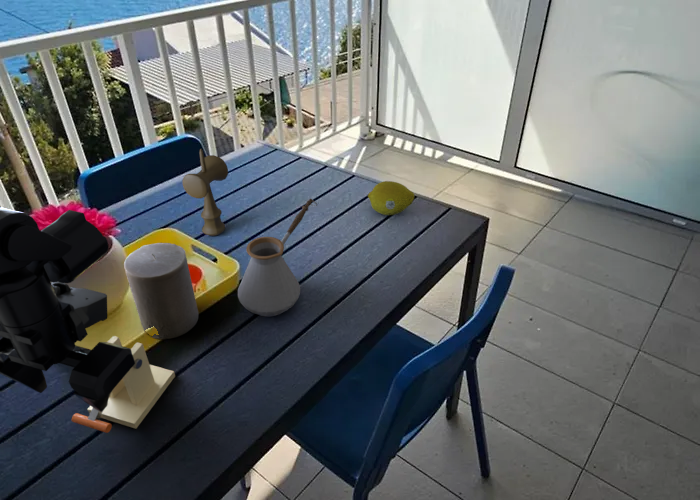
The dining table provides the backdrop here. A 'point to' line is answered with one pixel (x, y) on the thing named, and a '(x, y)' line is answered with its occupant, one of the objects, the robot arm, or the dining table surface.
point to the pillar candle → (162, 289)
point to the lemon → (390, 198)
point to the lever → (92, 420)
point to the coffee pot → (270, 275)
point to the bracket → (136, 389)
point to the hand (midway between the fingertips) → (72, 399)
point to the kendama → (207, 191)
